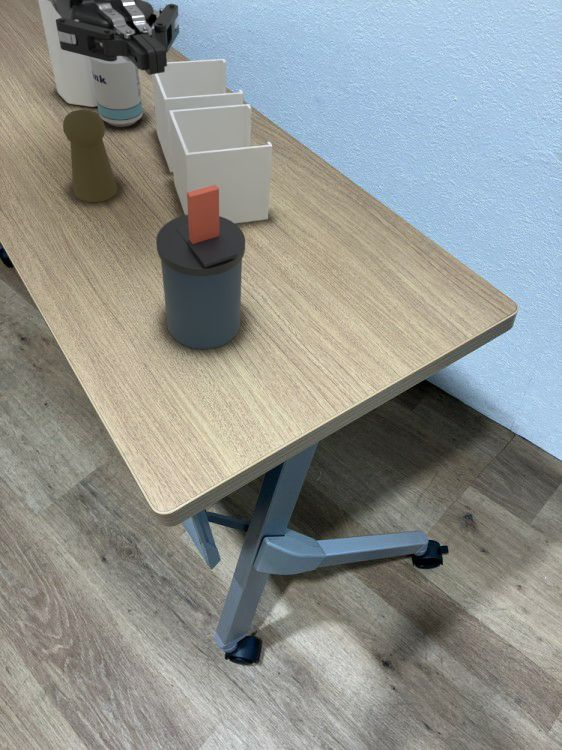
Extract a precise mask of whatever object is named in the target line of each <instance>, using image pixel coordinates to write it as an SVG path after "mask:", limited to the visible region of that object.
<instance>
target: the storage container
mask: <svg viewBox="0 0 562 750" xmlns="http://www.w3.org/2000/svg"><path fill="white" fill-rule="evenodd" d="M151 80H152V81H151V82H152V92H153V103H154V113H155V126H156V127H155V128H156V136H157V137H158V141H159V144H160V147H161V149H162V153H163V156H164V158H165V161H166V164H167V167H168V170H169V173H172V174H173V184H174V188H175V190H176V193H177V196H178V199H179V202H180V205H181V208H182V210H183V214H184V215H188V206H187V192H190V191H194V190H197V189H201V188H205V187H209V186H212V185H216V186H217V187H218V188H219V216H221V217H223V218H226V219H228V220H230V221H232V222H233V223H235V224H243V223H249V222H258V221H265V220H269V209H270V193H271V180H272V179H271V177H272V161H273V147H274V146H273V145H272V142H271V141H267V142H266V144H265V145H254V146H251V135H252V133H251V132H252V107H251V104H250V103H246V104H244V91H243V90H242V89H238V92H227V61H226V58H217V59H215V58H213V59H199V60H183V61H167V66H166V67H165V71H164V72H163V73H157V74H152V75H151Z"/></svg>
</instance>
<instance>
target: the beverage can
mask: <svg viewBox="0 0 562 750" xmlns="http://www.w3.org/2000/svg"><path fill="white" fill-rule="evenodd" d="M90 62H91V68H92V74H93V81H94V87H95V93H96V99H97V106H96V107H97V111H98V115H99V116H100V117H101V118H102V120H103V122H106V123H108V124H109V125H110V126H113V127H118V128H124V127H125V128H126V127H131V126H132V125H134V124H135V123H137V121H139V120H140V119H141V118H142V117H143V114H144V113H143V112H144V111H143V101H142V92H141V83H140V72H139V69H138V68H137V67H136V66H135V65H134V63H133V62H132V61H127V60H125V59H124V58H123V57H122V56H117V60H116V61H112V62H109V61H105V60H101V59H97V58H93V57H90Z"/></svg>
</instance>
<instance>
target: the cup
mask: <svg viewBox="0 0 562 750" xmlns="http://www.w3.org/2000/svg"><path fill="white" fill-rule="evenodd" d="M37 2H38V6H39V7H38V8H39V11H40V15H41V20H42V26H43V31H44V34H45V39H46V44H47V49H48V53H49V58H50V63H51V68H52V72H53V77H54V82H55V88H56V92H57V94H58V95H59V96H60V97H61V98H62V99H63V100H64V101H65V102H66V103H67V104H69V105H75V106H81V107H89V108H96V107H98V106H97V99H96V93H95V87H94V81H93V74H92V68H91V62H90V57H89V56H85V55H81V54H77V53H73V52H69V51H65V50H62V49H61V47H60V42H59V36H58V31H57V26H56V20H57V19H59V18H61V16H60V15H59V14H58V13H57V12H56V10H55V9H54V7H53V5H52V3H51V2H50V1H47V0H37Z"/></svg>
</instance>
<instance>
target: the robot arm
mask: <svg viewBox="0 0 562 750" xmlns="http://www.w3.org/2000/svg"><path fill="white" fill-rule="evenodd" d="M47 1H50V2H51V3H52V5H53V7H54V9H55V10H56V12H57V13H58V14H59V15H60V16H61V18H59V19H57V20H56V26H57V31H58V36H59V42H60V47H61V49H62V50H65V51H69V52H73V53H77V54H81V55H85V56H89V57H93V58H97V59H101V60H105V61H109V62H112V61H116V60H117V56H122V57H123V58H124V59H125V60H127V61H132V62H133V63H134V65H135V66H136V67H137V68H138V70H141V71H145V73H146V74H147V75H148V76H152V74H157V73H163V72H164V71H165V67H166V66H167V62H168V59H167V53H168V52H169V51H170V49H171V47H172V46H173V44H174V42H175V41H176V39H177V37H178V35H179V34H180V16H179V5H177V4H175V3H169V4H166V5H165V7H164V8H163V7H160V8H159V9H158V10H155V9H154V7H153V6H152V5H153V4H151V3H150V2H148V1H145V0H47Z"/></svg>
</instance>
